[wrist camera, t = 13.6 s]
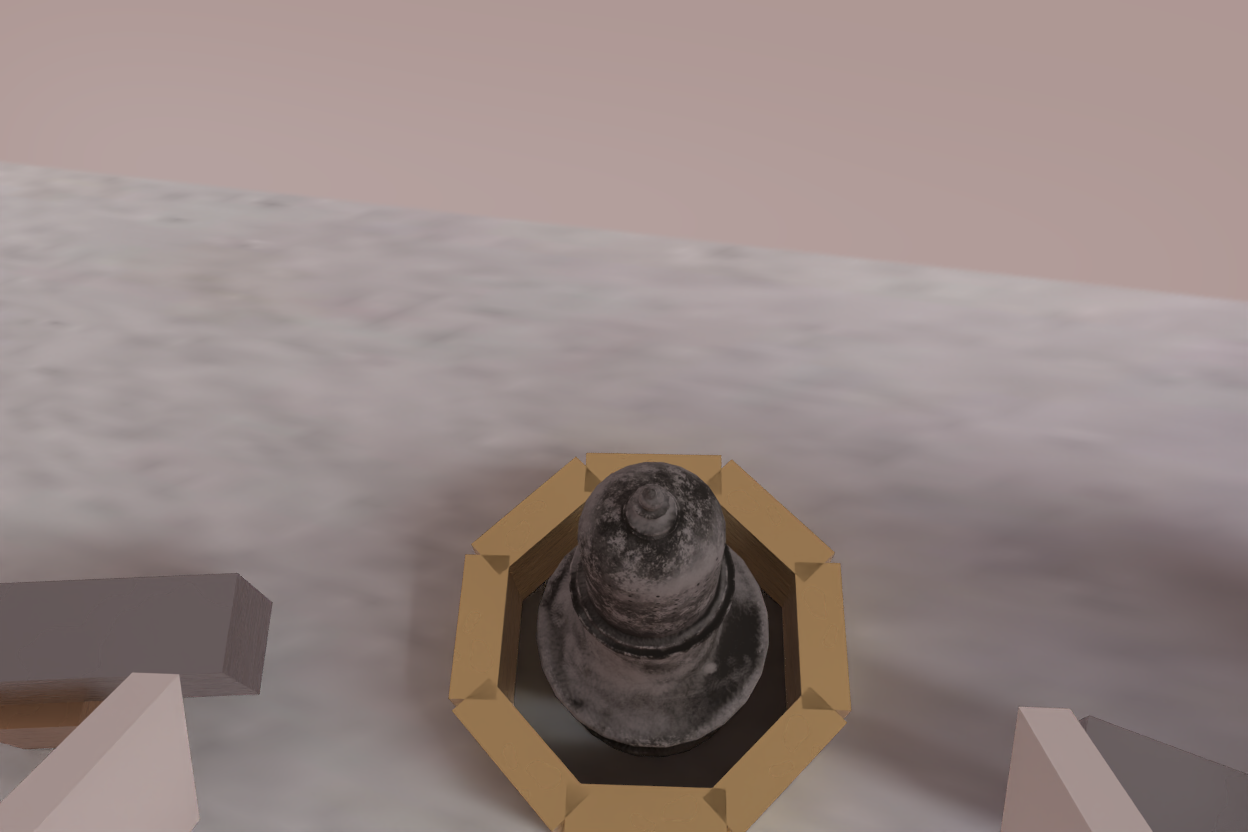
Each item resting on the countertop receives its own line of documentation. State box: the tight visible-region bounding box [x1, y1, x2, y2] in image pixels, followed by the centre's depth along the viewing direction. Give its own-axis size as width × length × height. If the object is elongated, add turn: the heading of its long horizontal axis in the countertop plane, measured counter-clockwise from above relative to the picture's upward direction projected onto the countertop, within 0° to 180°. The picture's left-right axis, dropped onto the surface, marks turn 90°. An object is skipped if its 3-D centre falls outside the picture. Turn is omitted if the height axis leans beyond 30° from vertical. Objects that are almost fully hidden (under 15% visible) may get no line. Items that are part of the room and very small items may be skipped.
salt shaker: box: [536, 462, 769, 757], centre depth 22 cm, size 6×6×12 cm
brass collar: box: [448, 453, 851, 832], centre depth 26 cm, size 10×10×3 cm
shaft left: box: [0, 573, 272, 749], centre depth 25 cm, size 8×4×5 cm, turn 92°
